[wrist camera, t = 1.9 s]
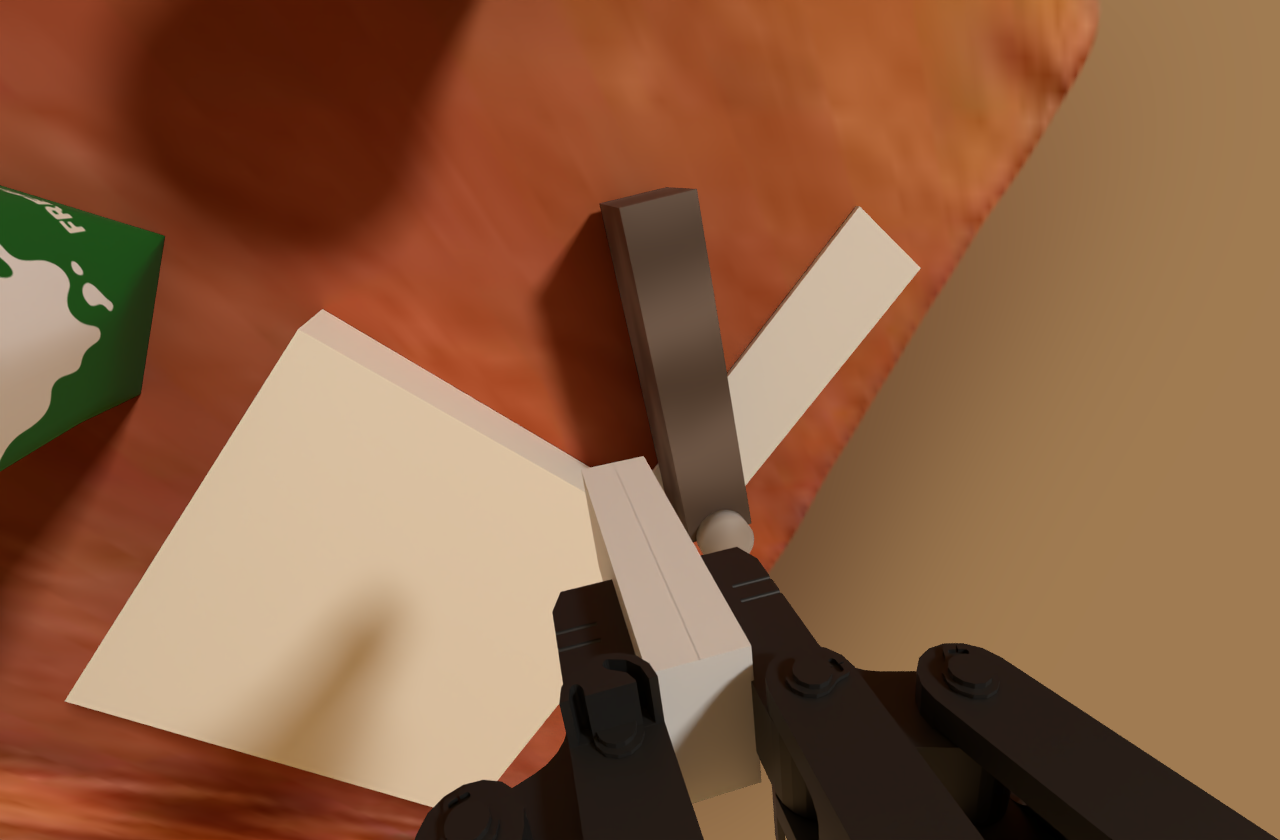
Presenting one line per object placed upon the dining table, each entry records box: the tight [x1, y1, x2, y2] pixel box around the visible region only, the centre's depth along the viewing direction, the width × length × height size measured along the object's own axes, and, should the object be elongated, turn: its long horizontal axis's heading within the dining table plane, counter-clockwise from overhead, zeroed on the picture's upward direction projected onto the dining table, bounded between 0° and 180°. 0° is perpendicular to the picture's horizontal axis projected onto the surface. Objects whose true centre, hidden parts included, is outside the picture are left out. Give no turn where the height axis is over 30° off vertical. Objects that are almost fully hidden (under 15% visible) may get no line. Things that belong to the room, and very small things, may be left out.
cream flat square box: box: [65, 309, 603, 807], centre depth 31 cm, size 20×20×4 cm
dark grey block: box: [600, 187, 754, 555], centre depth 29 cm, size 17×3×6 cm, turn 13°
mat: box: [652, 206, 920, 493], centre depth 34 cm, size 5×18×1 cm, turn 143°
